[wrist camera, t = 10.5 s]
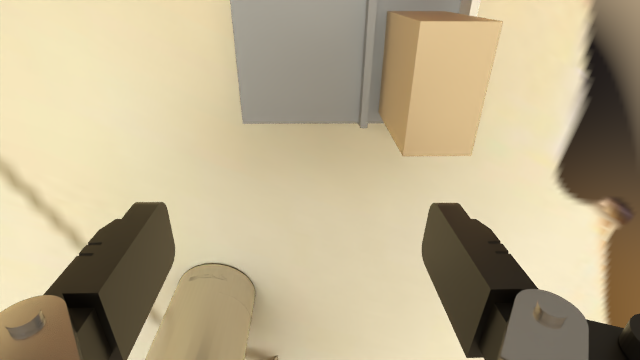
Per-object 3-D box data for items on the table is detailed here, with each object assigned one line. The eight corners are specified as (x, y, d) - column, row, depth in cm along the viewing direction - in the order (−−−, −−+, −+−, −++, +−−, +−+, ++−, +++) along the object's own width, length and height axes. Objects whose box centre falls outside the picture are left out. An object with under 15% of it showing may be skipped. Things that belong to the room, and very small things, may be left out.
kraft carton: (447, 11, 27) (505, 21, 19) (430, 112, 31) (473, 155, 23) (387, 11, 27) (420, 21, 19) (378, 112, 30) (402, 156, 23)
